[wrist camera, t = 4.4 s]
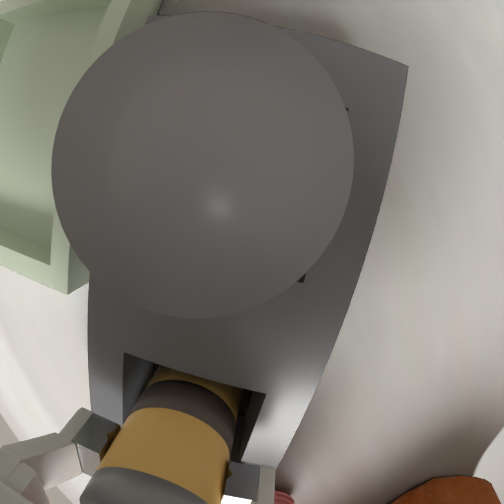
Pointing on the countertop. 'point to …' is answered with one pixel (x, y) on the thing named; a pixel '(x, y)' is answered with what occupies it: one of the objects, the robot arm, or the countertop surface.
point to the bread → (451, 492)
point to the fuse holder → (276, 309)
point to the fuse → (202, 164)
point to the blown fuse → (170, 444)
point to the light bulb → (282, 498)
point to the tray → (46, 120)
